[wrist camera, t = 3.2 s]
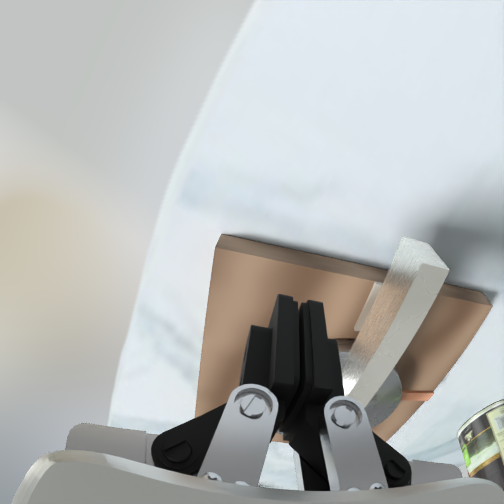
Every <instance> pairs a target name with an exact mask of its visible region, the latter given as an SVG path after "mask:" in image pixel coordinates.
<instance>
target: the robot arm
mask: <svg viewBox="0 0 504 504" xmlns="http://www.w3.org/2000/svg"><path fill="white" fill-rule="evenodd" d="M278 429H279V432H283V440H284V441H289V445H290V446H291V447H292V448H293V449H294V463H295V470H296V477H297V485H298V490H284V489H272V488H262V487H257V485H258V482H259V479H260V475H261V472H262V468H263V465H264V461H265V458H266V454H267V450H268V447H269V443H271V441H272V439H273V437H274V436H275V434H276V432H277V431H278ZM11 504H504V491H503V489H502V488H501V487H500V486H499V485H498V484H496V483H494V482H492V481H489V480H485V479H480V478H462V473H461V472H460V470H459V468H457V467H456V466H455V465H452V464H444V463H434V462H426V461H419V460H412V461H410V462H409V461H407V460H406V458H405V457H404V456H402V455H401V454H400V453H399V452H397V451H396V450H395V449H394V448H392V447H391V446H390V445H389V444H387V443H386V442H385V441H384V440H382V439H381V438H380V437H379V436H378V435H376V434H375V433H374V432H373V431H372V430H371V426H370V423H369V420H368V417H367V414H366V411H365V409H364V407H363V406H362V405H361V404H360V403H359V402H358V401H356V400H355V399H353V398H350V397H347V396H345V394H344V386H343V378H342V371H341V363H340V356H339V350H338V344H337V341H336V340H335V339H329V338H328V336H327V328H326V320H325V313H324V306H323V302H319V301H313V300H307V302H306V303H303V302H302V303H301V305H300V307H299V310H298V301H293V296H288V295H283V294H278V295H277V298H276V302H275V305H274V309H273V312H272V315H271V319H270V322H269V326H268V328H266V327H261V326H256V325H251V327H250V330H249V334H248V338H247V343H246V347H245V352H244V357H243V363H242V369H241V375H240V381H239V387H237V388H236V389H235V390H233V392H232V393H231V395H230V397H229V399H228V402H227V403H225V404H223V405H221V406H219V407H217V408H215V409H213V410H211V411H209V412H207V413H205V414H203V415H201V416H198V417H196V418H194V419H192V420H190V421H188V422H186V423H183V424H181V425H179V426H177V427H174V428H172V429H170V430H168V431H165V432H163V433H162V434H160V435H157V434H147V433H146V431H139V430H130V429H122V428H115V427H108V426H102V425H95V424H90V423H81V424H78V425H76V426H74V427H73V428H72V429H71V430H70V432H69V435H68V437H67V443H66V449H65V450H60V451H53V452H49V453H46V454H44V455H43V456H41V457H40V458H38V459H37V460H36V462H35V463H34V464H33V465H32V466H31V468H30V469H29V470H28V472H27V473H26V475H25V477H24V478H23V480H22V482H21V484H20V486H19V488H18V490H17V492H16V494H15V496H14V498H13V501H12V503H11Z"/></svg>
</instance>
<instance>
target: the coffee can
mask: <svg viewBox="0 0 504 504" xmlns="http://www.w3.org/2000/svg"><path fill="white" fill-rule="evenodd" d="M457 438H458V439H459V442H460V446H461V449H462V452H463V456H464V459H465V463H466V466H467V471H468V474H469V478H480V479H485V480H489V481H492V482H494V483H496V484H498V485H499V486H500V487H501V488H502V489H503V491H504V400H501V401H498V402H496V403H494V404H492V405H490V406H488V407H486V408H485V409H483V410H482V411H480V412H478V413H477V414H476V415H474V416H473V417H472V418H470V419H469V420H468V421H467V422H466V423H465V424H464V425H463V426H462V427H461V428H460V430H459V431H458V433H457Z"/></svg>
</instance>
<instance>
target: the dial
mask: <svg viewBox="0 0 504 504" xmlns="http://www.w3.org/2000/svg"><path fill="white" fill-rule="evenodd" d="M449 271H450V270H449V268H448V267H447V266H446V265H445V263H444V262H443V261H442V260H441V258H440V257H439V256H438V255H437V253H436V252H435V251H434V250H433V249H432V247H431V246H430V245H429V244H428V243H425V242H421V241H418V240H414V239H411V238H407V237H403V236H402V239H401V241H400V244H399V246H398V249H397V251H396V254H395V256H394V258H393V261H392V263H391V266H390V268H389V270H388V273H387V275H386V277H385V280H384V282H383V284H382V286H381V288H380V291H379V293H378V295H377V297H376V299H375V301H374V304H373V306H372V308H371V310H370V312H369V314H368V316H367V318H366V320H365V322H364V324H363V326H362V328H361V330H360V332H359V334H358V336H357V338H356V340H355V341H353V340H336V341H337V344H338V350H339V356H340V363H341V371H342V378H343V386H344V394H345V396H347V397H350V398H353V399H355V400H356V401H358V402H359V403H360V404H361V405H362V406H363V407H364V409H365V411H366V414H367V417H368V420H369V423H370V426H371V429H372V428H373V427H375V426H377V425H378V424H380V423H381V422H383V421H384V420H385V419H387V418H388V417H389V416H390V415H391V414H392V413H393V412H394V410H395V409H396V408H397V406H398V404H399V402H400V400H401V397H402V385H401V381H400V378H399V375H398V371H397V368H396V364H397V362H398V361H399V359H400V358H401V356H402V354H403V353H404V351H405V350H406V348H407V347H408V345H409V343H410V342H411V340H412V339H413V337H414V335H415V334H416V332H417V330H418V329H419V327H420V325H421V324H422V322H423V320H424V318H425V317H426V315H427V313H428V311H429V309H430V308H431V306H432V304H433V302H434V300H435V298H436V297H437V295H438V293H439V291H440V289H441V287H442V285H443V283H444V281H445V279H446V277H447V275H448V273H449ZM276 433H278V434H281V435H283V432H279V429H278V431H277V432H276Z"/></svg>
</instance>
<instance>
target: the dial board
mask: <svg viewBox="0 0 504 504" xmlns="http://www.w3.org/2000/svg"><path fill="white" fill-rule="evenodd" d="M387 273H388V270H383V269H379V268H375V267H370V266H366V265H361V264H357V263H352V262H348V261H343V260H339V259H334V258H330V257H325V256H321V255H316V254H312V253H307V252H302V251H298V250H293V249H289V248H284V247H279V246H275V245H270V244H266V243H261V242H256V241H252V240H247V239H242V238H237V237H233V236H228V235H223V234H221V236H220V238H219V240H218V242H217V245H216V247H215V252H214V259H213V266H212V273H211V281H210V288H209V296H208V303H207V311H206V319H205V327H204V336H203V344H202V353H201V362H200V371H199V380H198V390H197V400H196V410H195V418H196V417H198V416H201V415H203V414H205V413H207V412H209V411H211V410H213V409H215V408H217V407H219V406H221V405H223V404H225V403H227V402H228V399H229V397H230V395H231V393H232V392H233V390H235V389H236V388H237V387H239V381H240V375H241V369H242V363H243V357H244V352H245V347H246V343H247V338H248V334H249V330H250V327H251V325H256V326H261V327H266V328H268V326H269V322H270V319H271V315H272V312H273V309H274V305H275V302H276V298H277V295H278V294H283V295H288V296H293V301H298V310H299V307H300V305H301V303H302V302H303V303H306V302H307V300H313V301H319V302H323V306H324V313H325V320H326V328H327V336H328V338H329V339H335V340H353V341H355V340H356V338H357V336H358V334H359V332H360V330H361V328H362V326H363V324H364V322H365V320H366V318H367V316H368V314H369V312H370V310H371V308H372V306H373V304H374V301H375V299H376V297H377V295H378V293H379V291H380V288H381V286H382V284H383V282H384V280H385V277H386V275H387ZM491 308H492V304H491V303H490V302H489V300H488V299H487V298H486V297H485V295H484V294H483V293H482V292H478V291H474V290H470V289H466V288H462V287H457V286H453V285H449V284H444V283H443V285H442V287H441V289H440V291H439V293H438V295H437V297H436V298H435V300H434V302H433V304H432V306H431V308H430V309H429V311H428V313H427V315H426V317H425V318H424V320H423V322H422V324H421V325H420V327H419V329H418V330H417V332H416V334H415V335H414V337H413V339H412V340H411V342H410V343H409V345H408V347H407V348H406V350H405V351H404V353H403V354H402V356H401V358H400V359H399V361H398V362H397V364H396V368H397V371H398V375H399V378H400V381H401V385H402V397H401V400H400V402H399V404H398V406H397V408H396V409H395V410H394V412H393V413H392V414H391V415H390V416H389V417H388V418H387V419H385V420H384V421H383V422H381V423H380V424H378V425H377V426H375V427H373V428H372V429H371V430H372V431H373V432H374V433H375V434H376V435H378V436H379V437H380V438H381V439H382V440H384V441H385V442H386V441H387V440H388V439H389V438H391V437H392V436H393V435H394V434H395V433H396V432H397V431H398V430H399V428H400V427H401V426H402V425H403V424H404V423H405V422H406V421H407V420H408V419H409V418H410V417H411V416H412V415H413V414H414V413H415V411H416V410H417V409H418V408H419V407H420V406H421V405H422V404H423V402H424V401H428V400H429V399H430V398H431V396H432V395H433V394H434V392H433V391H434V390H435V388H436V387H437V386H438V385H439V383H440V382H441V381H442V380H443V378H444V377H445V376H446V375H447V373H448V372H449V371H450V369H451V368H452V367H453V365H454V364H455V363H456V361H457V360H458V359H459V357H460V356H461V354H462V353H463V352H464V350H465V349H466V347H467V346H468V344H469V343H470V341H471V340H472V338H473V337H474V335H475V334H476V332H477V331H478V329H479V328H480V326H481V325H482V323H483V321H484V320H485V318H486V316H487V315H488V313H489V311H490V310H491ZM272 441H275V442H283V443H289V441H284V440H283V435H281V434H278V433H276V434H275V436H274V437H273V439H272Z"/></svg>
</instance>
